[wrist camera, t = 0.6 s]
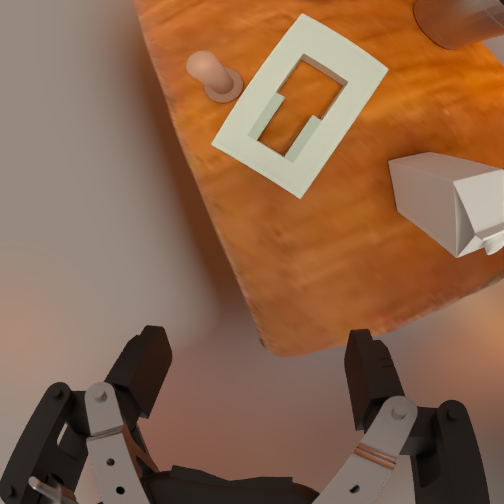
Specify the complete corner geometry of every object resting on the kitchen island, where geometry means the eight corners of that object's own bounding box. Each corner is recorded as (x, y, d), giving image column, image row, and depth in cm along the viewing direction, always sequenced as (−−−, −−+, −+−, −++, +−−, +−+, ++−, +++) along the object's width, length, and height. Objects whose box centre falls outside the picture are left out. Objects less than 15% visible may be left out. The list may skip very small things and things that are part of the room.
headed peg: (218, 63, 27) (193, 34, 17) (250, 79, 28) (238, 53, 18) (199, 93, 29) (165, 76, 19) (230, 109, 29) (209, 96, 19)
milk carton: (386, 160, 30) (482, 193, 13) (429, 151, 29) (531, 178, 11) (396, 211, 33) (479, 280, 15) (436, 200, 31) (527, 256, 14)
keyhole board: (300, 21, 24) (302, 13, 21) (380, 73, 25) (388, 69, 23) (216, 144, 31) (210, 144, 29) (298, 194, 33) (300, 199, 31)
